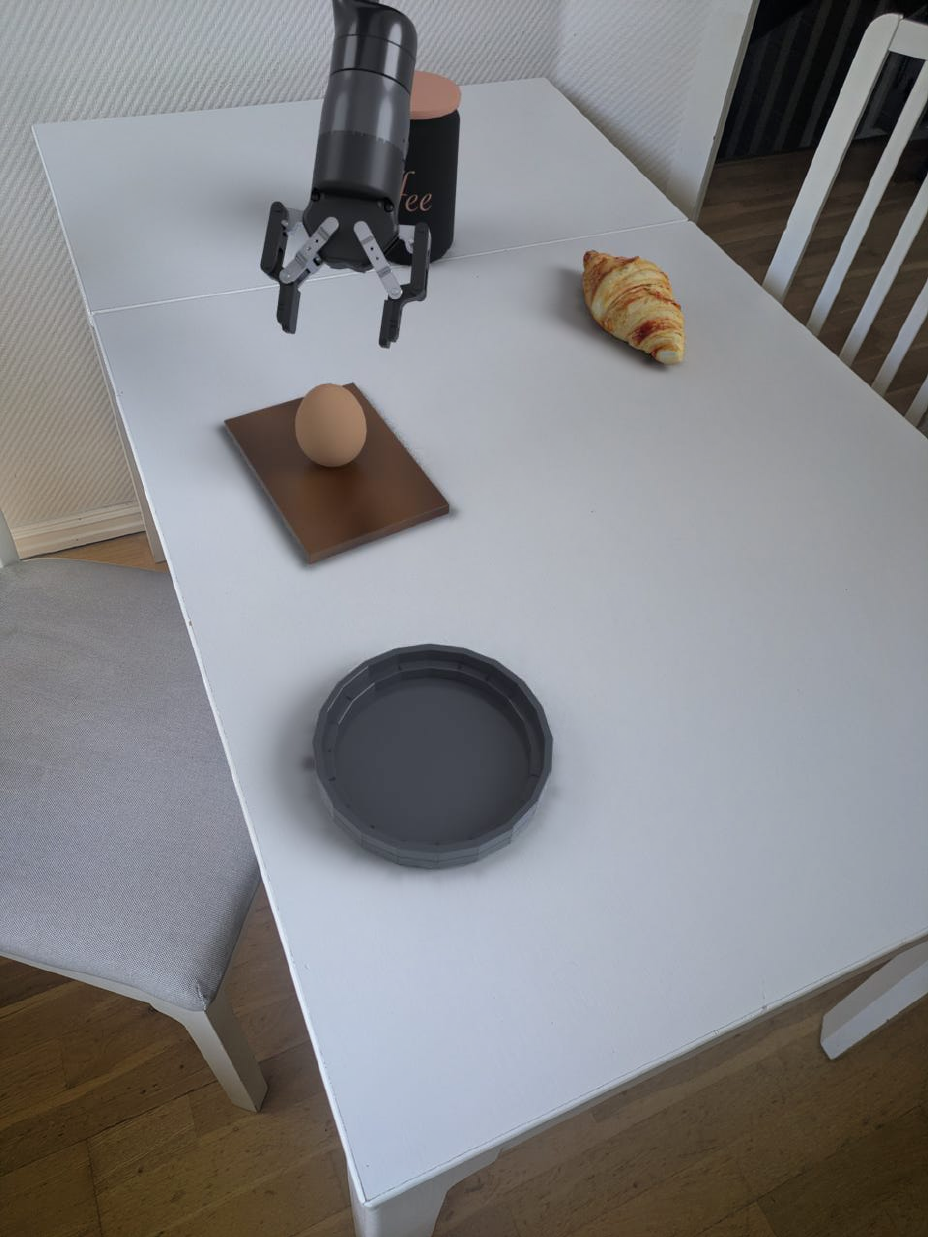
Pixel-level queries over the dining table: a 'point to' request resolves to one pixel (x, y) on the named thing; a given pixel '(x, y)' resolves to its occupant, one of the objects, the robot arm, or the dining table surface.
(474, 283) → the dining table surface
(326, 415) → the egg
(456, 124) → the coffee jar
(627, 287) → the croissant
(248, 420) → the board
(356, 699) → the pan
